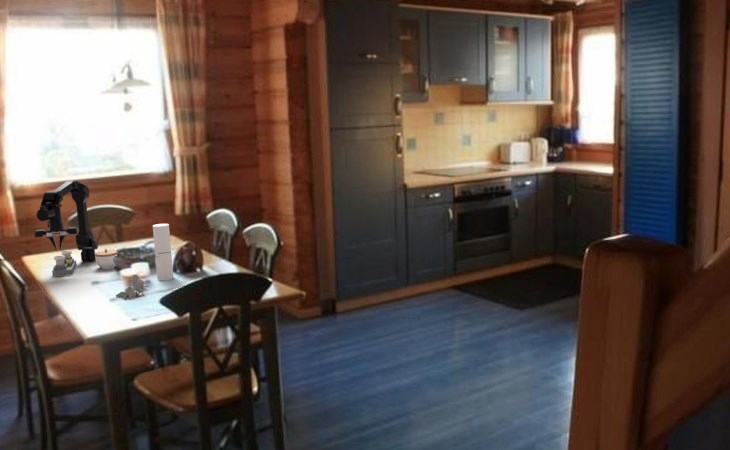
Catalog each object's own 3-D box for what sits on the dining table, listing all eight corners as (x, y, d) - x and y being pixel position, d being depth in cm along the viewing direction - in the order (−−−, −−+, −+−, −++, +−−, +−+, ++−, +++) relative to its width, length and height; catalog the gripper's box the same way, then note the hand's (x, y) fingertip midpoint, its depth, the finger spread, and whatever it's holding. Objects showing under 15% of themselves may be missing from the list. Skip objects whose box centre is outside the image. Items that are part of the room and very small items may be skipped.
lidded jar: (122, 264, 356) (120, 246, 354) (113, 270, 346) (111, 251, 344) (102, 265, 357) (100, 247, 355) (92, 270, 347) (90, 251, 345)
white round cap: (73, 260, 356) (72, 249, 355) (72, 262, 351) (71, 251, 350) (63, 261, 355) (61, 250, 354) (61, 263, 350) (60, 252, 349)
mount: (76, 265, 359) (75, 257, 358) (72, 274, 339) (71, 266, 339) (57, 266, 357) (57, 259, 356) (52, 276, 337) (51, 268, 336)
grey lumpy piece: (145, 295, 292) (127, 281, 290) (130, 313, 292) (112, 299, 290) (153, 284, 311) (136, 271, 310) (139, 301, 312) (121, 288, 310)
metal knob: (73, 264, 350) (72, 256, 349) (72, 265, 347) (71, 257, 346) (66, 264, 349) (65, 257, 348) (66, 266, 346) (65, 258, 345)
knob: (66, 266, 344) (65, 254, 343) (65, 268, 340) (64, 256, 338) (55, 267, 343) (54, 255, 342) (54, 269, 338) (53, 257, 337)
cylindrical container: (169, 280, 321) (164, 226, 316) (154, 280, 322) (149, 226, 318) (176, 276, 328) (171, 223, 323) (162, 276, 329) (157, 223, 325)
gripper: (77, 213, 347) (80, 244, 350) (36, 216, 342) (39, 248, 344) (75, 216, 337) (78, 248, 339) (32, 220, 331) (36, 252, 334)
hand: (58, 249), depth 340 cm, fingers closed
